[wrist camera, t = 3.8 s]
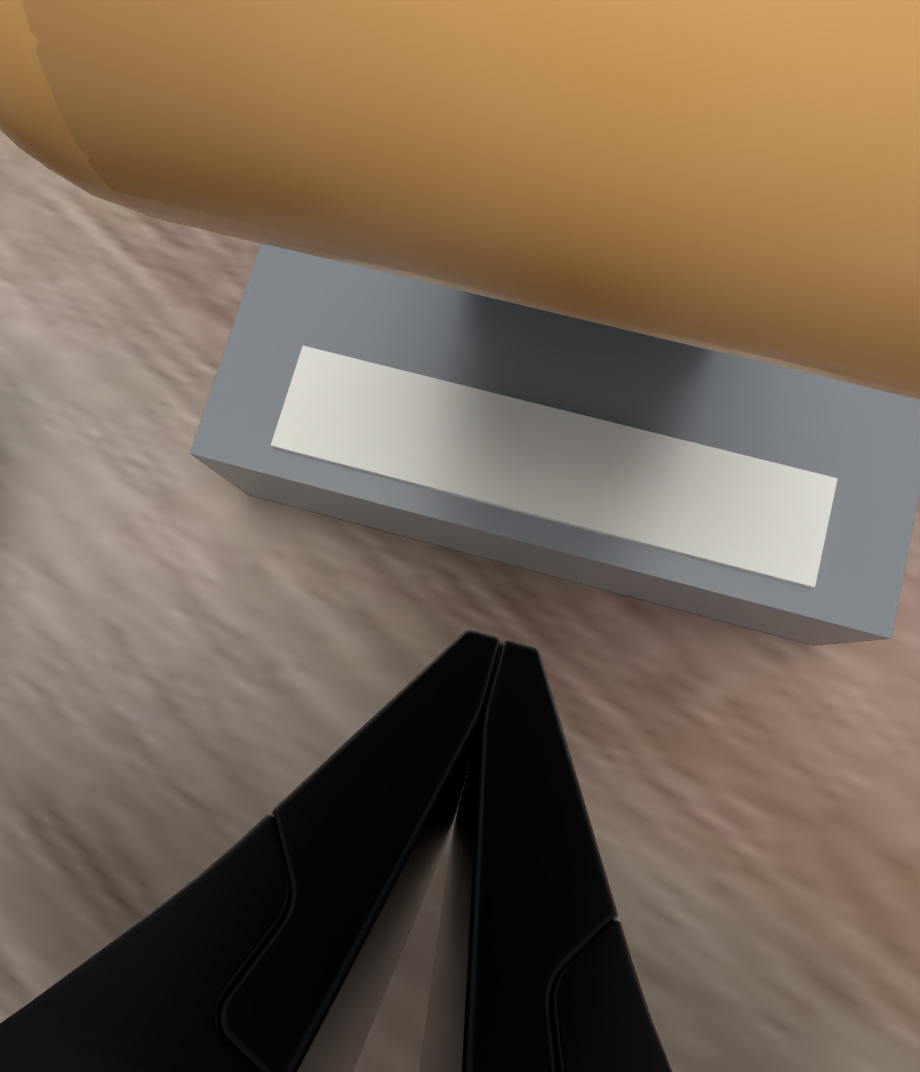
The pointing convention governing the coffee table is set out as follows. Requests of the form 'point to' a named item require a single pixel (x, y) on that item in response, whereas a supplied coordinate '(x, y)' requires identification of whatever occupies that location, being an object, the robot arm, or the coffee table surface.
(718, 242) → the lever
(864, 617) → the block
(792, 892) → the coffee table surface
